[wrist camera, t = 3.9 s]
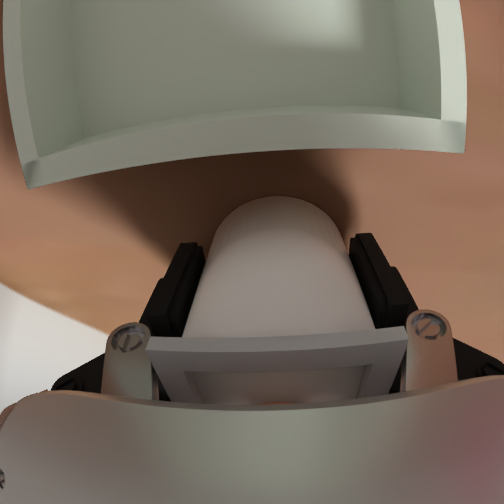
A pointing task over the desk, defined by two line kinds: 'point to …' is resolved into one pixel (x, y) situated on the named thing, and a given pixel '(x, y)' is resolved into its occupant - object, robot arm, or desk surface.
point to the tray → (227, 79)
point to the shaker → (278, 317)
